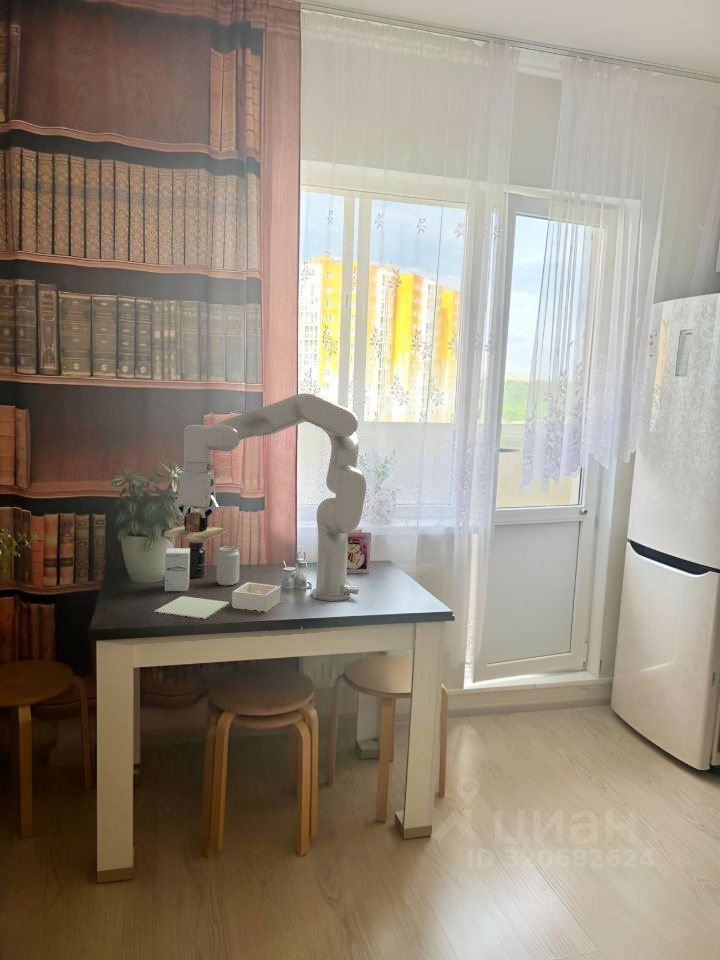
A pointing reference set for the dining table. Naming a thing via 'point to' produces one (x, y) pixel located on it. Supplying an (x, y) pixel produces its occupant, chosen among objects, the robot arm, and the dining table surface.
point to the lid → (194, 529)
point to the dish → (256, 597)
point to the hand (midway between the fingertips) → (195, 529)
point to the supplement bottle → (197, 559)
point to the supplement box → (177, 569)
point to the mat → (192, 607)
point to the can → (227, 566)
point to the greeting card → (358, 552)
